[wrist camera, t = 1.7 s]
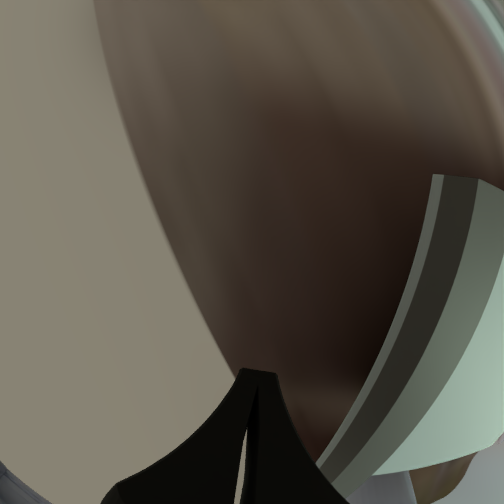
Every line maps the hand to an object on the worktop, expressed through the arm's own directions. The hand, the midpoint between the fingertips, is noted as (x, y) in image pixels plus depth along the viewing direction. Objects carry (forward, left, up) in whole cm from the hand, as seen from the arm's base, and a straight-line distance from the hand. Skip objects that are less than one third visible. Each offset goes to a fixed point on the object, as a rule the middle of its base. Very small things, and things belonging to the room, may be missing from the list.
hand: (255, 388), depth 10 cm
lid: (0, -14, -1) cm, 14 cm away
